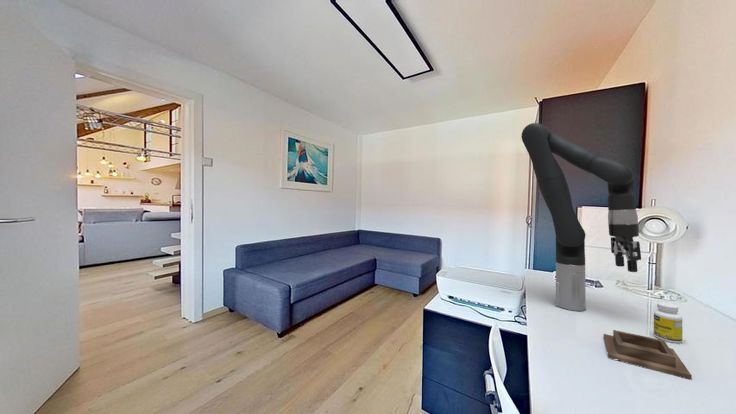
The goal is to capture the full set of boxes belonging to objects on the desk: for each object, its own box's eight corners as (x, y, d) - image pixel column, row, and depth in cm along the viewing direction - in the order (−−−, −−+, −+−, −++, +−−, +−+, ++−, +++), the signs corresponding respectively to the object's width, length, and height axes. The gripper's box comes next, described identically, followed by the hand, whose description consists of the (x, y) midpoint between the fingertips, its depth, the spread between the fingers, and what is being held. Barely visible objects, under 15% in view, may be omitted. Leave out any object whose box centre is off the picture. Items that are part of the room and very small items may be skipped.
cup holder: (608, 358, 68) (608, 344, 68) (603, 337, 79) (603, 325, 79) (691, 379, 60) (691, 364, 60) (673, 352, 71) (672, 339, 71)
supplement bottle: (648, 334, 81) (648, 301, 81) (664, 333, 81) (664, 300, 81) (671, 344, 75) (670, 308, 75) (688, 343, 75) (688, 307, 75)
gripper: (600, 221, 100) (603, 264, 99) (618, 224, 87) (622, 273, 86) (626, 221, 97) (629, 265, 96) (649, 223, 84) (653, 274, 83)
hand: (626, 268), depth 91 cm, fingers open, 8 cm apart
